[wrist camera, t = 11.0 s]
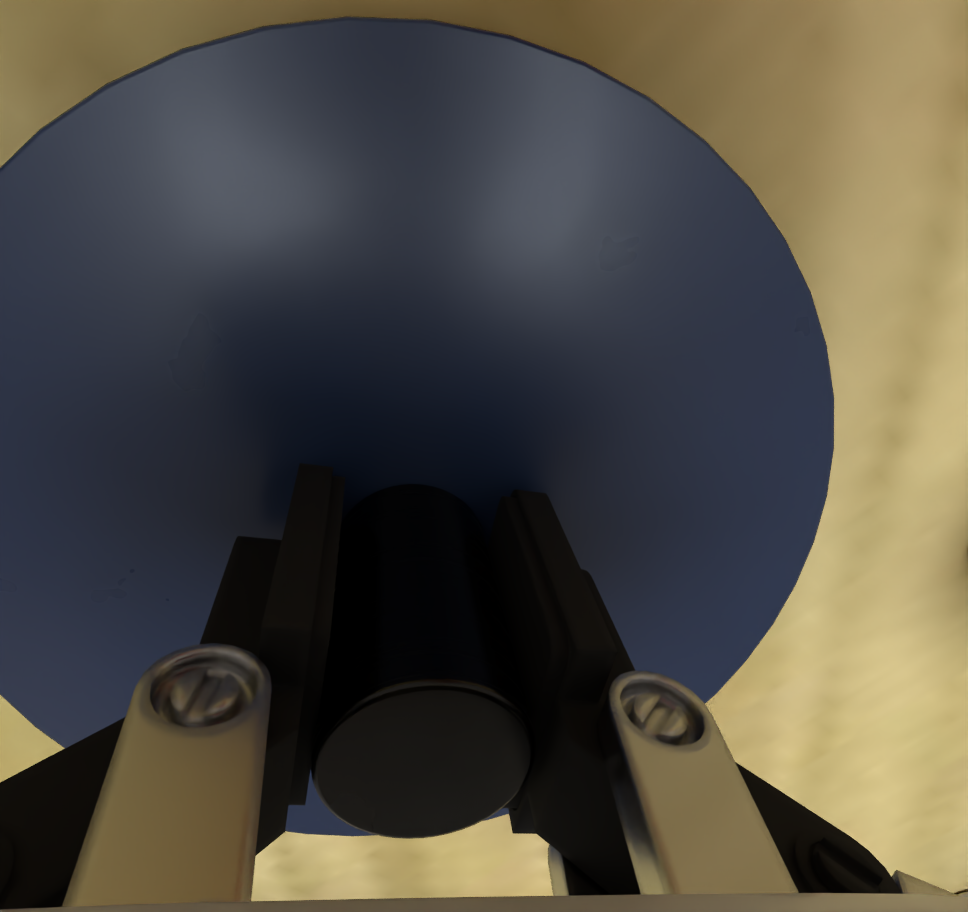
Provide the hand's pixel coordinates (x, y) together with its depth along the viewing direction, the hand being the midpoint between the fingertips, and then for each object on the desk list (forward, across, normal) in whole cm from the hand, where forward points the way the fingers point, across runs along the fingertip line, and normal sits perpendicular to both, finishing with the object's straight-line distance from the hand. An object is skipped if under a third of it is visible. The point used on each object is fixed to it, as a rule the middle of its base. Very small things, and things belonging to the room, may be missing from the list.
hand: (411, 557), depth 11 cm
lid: (+1, 0, 0) cm, 1 cm away
